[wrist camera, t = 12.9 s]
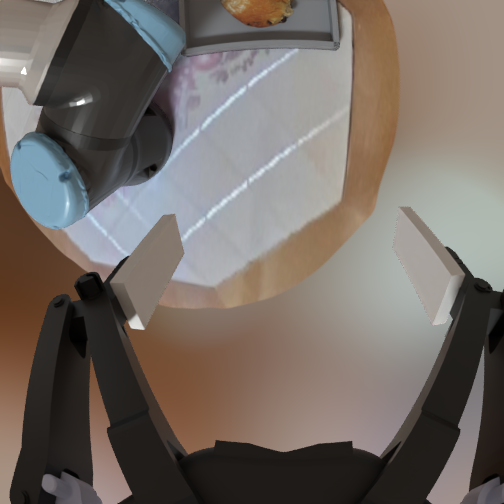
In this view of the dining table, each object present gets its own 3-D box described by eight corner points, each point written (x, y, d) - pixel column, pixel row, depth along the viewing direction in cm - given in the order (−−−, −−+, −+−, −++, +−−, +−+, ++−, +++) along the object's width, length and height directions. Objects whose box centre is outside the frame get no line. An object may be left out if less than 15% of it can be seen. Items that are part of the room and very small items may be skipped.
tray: (187, 56, 33) (181, 54, 31) (184, -24, 25) (178, -30, 22) (335, 50, 31) (339, 47, 28) (327, -33, 22) (330, -40, 20)
